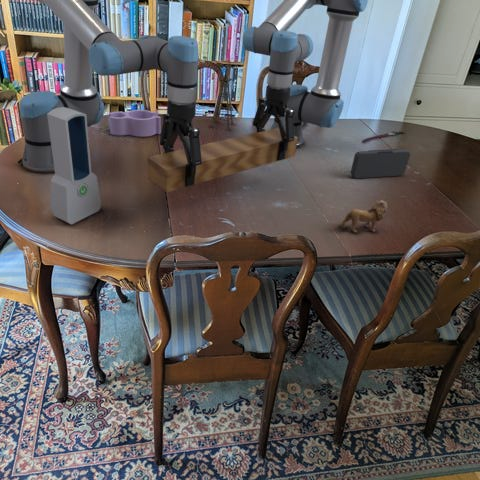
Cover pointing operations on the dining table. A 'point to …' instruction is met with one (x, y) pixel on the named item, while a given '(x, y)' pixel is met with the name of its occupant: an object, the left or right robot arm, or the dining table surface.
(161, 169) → the wide beam
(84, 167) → the electronic device
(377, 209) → the lion figurine
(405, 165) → the handheld gaming console
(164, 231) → the dining table surface
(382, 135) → the sword
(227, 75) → the miniature windmill
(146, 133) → the purple desk organizer
